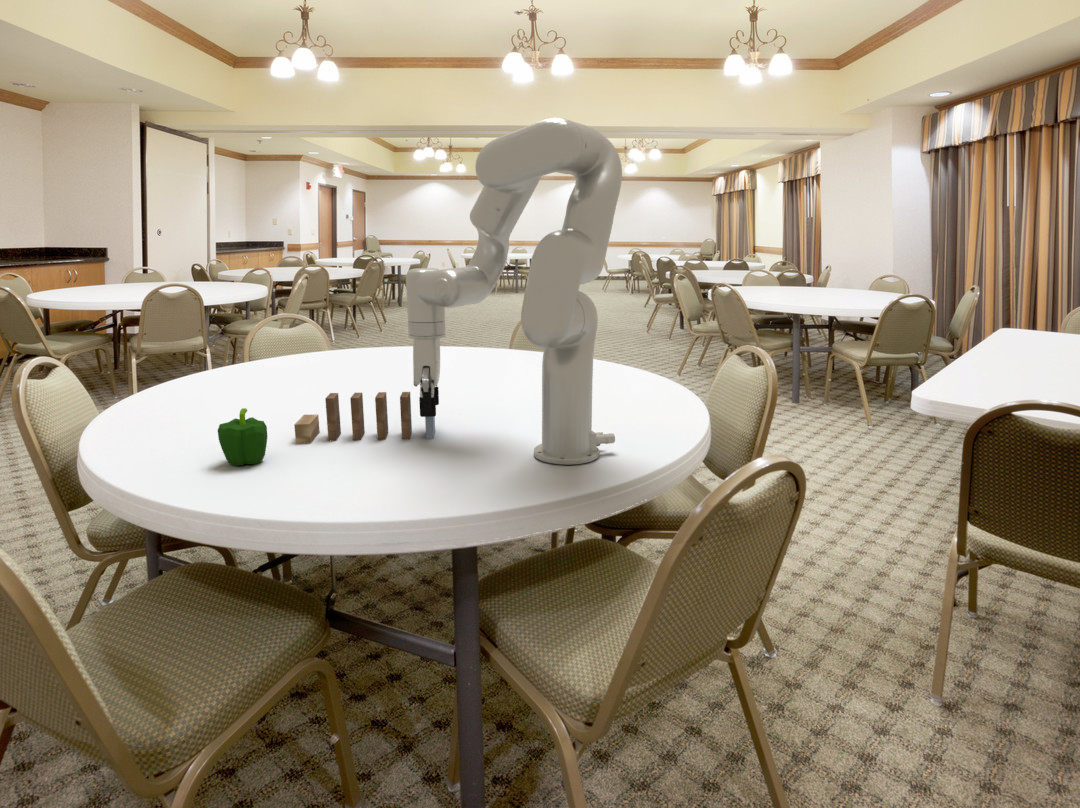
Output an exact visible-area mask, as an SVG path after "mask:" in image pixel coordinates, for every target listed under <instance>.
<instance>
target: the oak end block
mask: <svg viewBox="0 0 1080 808" xmlns="http://www.w3.org/2000/svg"><path fill="white" fill-rule="evenodd" d="M319 420H320V419H319V413H318V414H317V413H316V414H303V415H302V416H301V417H300V418H299V419H298V420H297V421H296V422H295V424H294V433H295V434H294V436H295V444H312V443H313V441H314V440H315V439H316V438H317V436H318V435H319V434H320V432H321V431H320V430H321V429H320V421H319ZM315 437H316V438H315Z"/></svg>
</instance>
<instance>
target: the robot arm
mask: <svg viewBox="0 0 1080 808" xmlns="http://www.w3.org/2000/svg"><path fill="white" fill-rule="evenodd" d="M554 173H558V174H564V175H569V176H573V177H574V178H575V185H574V187H573V189H572V191H571V194H570V195H569V198H568V201H567V204H566V209H565V216H564V220H563V224H562V226H561V227H562V228H561V230H560V229H559V230H554V231H552V232H549V233H548V234H546V235H545V236H543V237H542V238H541V240H540V241H539V242H538V244H537V245H536V247H535V249H534V251H533V254H532V255H531V256H532V257H531V260H530V264H529V269H528V276H527V281H526V285H525V291H524V295H523V301H522V307H521V313H520V322H521V323H520V325H521V328H522V332H523V334H524V337H525V339H527V340H528V341H529V342H530V343H531V344H532V345H534V346H535V347H538V348H539V349H540V348H541V349H543V354H542V364H541V367H542V368H541V443H539V444H538V445H536V446H535V447H534V449H533V456H534V457H535V458H536V459H538V460H539V461H541V462H545V463H547V464H552V465H553V464H554V465H567V466H568V465H570V466H571V465H581V464H587V463H590V462H593V461H596V460H597V459H598V458H599V456H600V449H599V447H600V446H601V445H603V444H605V445H608V444H609V445H610V444H614V443H615V442H616V436H615V434H614V433H613V432H612V433H603V432H602V431H600V432H598V431H597V432H595V431H593V429H592V428H593V427H592V426H593V425H592V422H593V418H592V417H593V380H594V379H593V378H594V375H593V374H594V352H595V344H596V343H595V342H596V338H597V332H598V331H597V330H598V321H599V320H598V311H597V308H596V307H597V306H596V305H595V303H594V301H593V300H592V298H591V297H590V296H589V295H587V294H586V293H585V292H583V291H581V290H579V289H580V285H584V284H588V283H591V282H593V281H594V280H596V279H597V278H598V277H599V276H600V275H601V273H602V270H603V268H604V266H605V261H606V257H607V252H608V248H609V241H610V237H611V233H612V229H613V223H614V218H615V214H616V209H617V208H616V207H617V205H618V201H619V198H620V197H619V196H620V192H621V188H622V180H623V165H622V161H621V157H620V155H619V153H618V150H617V149H616V148H615V146H614V145H613V143H612V142H611V140H609V139H608V138H607V137H606V136H605V135H603V134H602V133H601V132H600V131H598V130H597V129H595V128H592V127H590V126H588V125H586V124H583V123H580V122H575V121H573V120H570V119H566V118H562V117H549V118H546V119H545V118H544V119H542V120H539V121H537V122H534V123H532V124H530V125H527V126H524V127H522V128H519V129H516V130H514V131H512V132H509V133H506V134H504V135H501V136H499V137H497V138H495V139H493V140H492V139H491V141H489V142H488V143H486V144H485V145H484V146H483V147H482V148H481V149H480V150H479V153H478V155H477V157H476V159H475V174H476V177H477V180H478V181H479V183H480V184H481V185H483V186H482V189H481V191H480V193H479V195H478V197H477V199H476V201H475V202H474V205H473V207H472V208H471V210H470V213H469V220H470V222H471V224H472V225H473V226H474V227H475V228H476V230H477V234H478V241H477V245H476V247H475V250H474V253H472V254H473V255H472V257H471V259H470V261H469V262H468V264H467V265H466V266H465V267H464V266H463V267H454V268H445V269H444V268H443V269H439V268H434V267H433V268H432V267H424V268H423V267H420V268H418V267H416V268H412V269H409V270H408V271H407V272H406V275H405V285H406V288H405V289H406V306H407V307H406V309H407V329H408V333H407V334H408V338H410V339H413V343H412V355H413V356H412V361H413V362H412V363H413V365H412V366H413V367H412V368H413V370H412V371H413V372H412V373H413V386H414V387H418V386H419V397H418V398H419V399H418V400H419V416H420V417H421V418H422V417H423V418H425V417H436V416H437V406H438V405H439V404H440V399H439V397H440V396H439V395H440V394H439V386H438V384H439V382H440V373H441V339H442V338H445V337H446V312H445V311H446V310H445V309H447V308H448V309H449V308H451V309H452V308H458V307H459V308H460V307H463V306H469V305H470V306H471V305H474V304H478V303H482V302H483V301H484V300H485V299H486V298H487V297H488V296H489V295H490V294H491V293H492V291H493V290H494V288H495V287H496V285H497V282H498V281H499V279H500V277H501V275H502V274H503V272H504V269H505V267H506V264H507V261H508V257H509V255H508V254H509V249H510V236H511V234H512V233H513V231H514V229H515V227H516V225H517V223H518V221H519V220H520V218H521V215H522V214H523V212H524V210H525V209H526V206H527V204H528V203H529V201H530V199H531V197H532V195H534V192H535V190H536V189H537V186H538V184H539V182H540V181H541V178H542V177H544V176H546V175H549V174H554Z"/></svg>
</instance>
